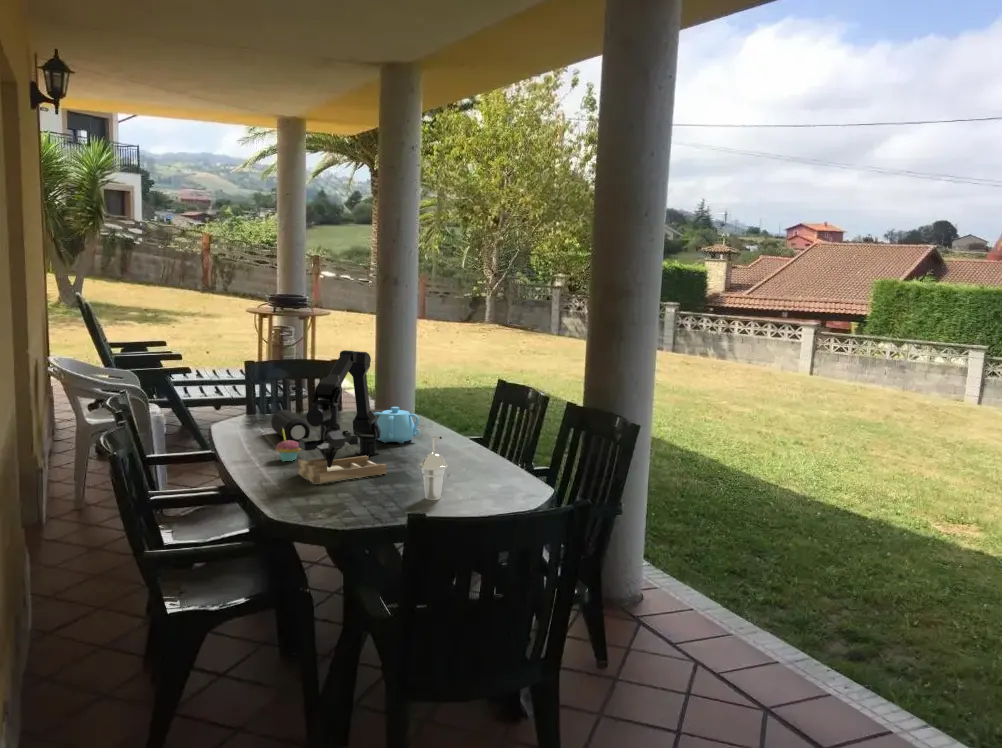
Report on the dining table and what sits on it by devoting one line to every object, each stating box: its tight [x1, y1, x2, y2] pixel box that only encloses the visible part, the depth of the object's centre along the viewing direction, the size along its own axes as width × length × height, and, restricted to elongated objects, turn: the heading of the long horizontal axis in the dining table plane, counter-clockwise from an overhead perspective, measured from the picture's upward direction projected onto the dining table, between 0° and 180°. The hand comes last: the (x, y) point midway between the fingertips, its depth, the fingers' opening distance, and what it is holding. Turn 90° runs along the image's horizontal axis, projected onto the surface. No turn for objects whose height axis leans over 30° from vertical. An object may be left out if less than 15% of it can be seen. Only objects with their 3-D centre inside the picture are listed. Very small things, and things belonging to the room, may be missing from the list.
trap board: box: [297, 455, 387, 483], centre depth 264 cm, size 14×25×5 cm, turn 126°
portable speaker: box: [270, 409, 311, 443], centre depth 314 cm, size 26×10×10 cm, turn 29°
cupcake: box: [275, 427, 302, 462], centre depth 280 cm, size 9×8×12 cm
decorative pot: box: [373, 406, 421, 445], centre depth 315 cm, size 16×16×14 cm
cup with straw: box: [418, 435, 448, 501], centre depth 239 cm, size 8×9×20 cm
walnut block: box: [307, 457, 327, 473], centre depth 258 cm, size 4×4×4 cm
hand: (329, 467), depth 261 cm, fingers closed
